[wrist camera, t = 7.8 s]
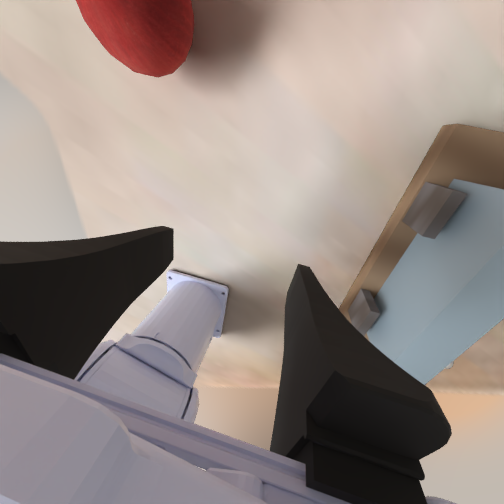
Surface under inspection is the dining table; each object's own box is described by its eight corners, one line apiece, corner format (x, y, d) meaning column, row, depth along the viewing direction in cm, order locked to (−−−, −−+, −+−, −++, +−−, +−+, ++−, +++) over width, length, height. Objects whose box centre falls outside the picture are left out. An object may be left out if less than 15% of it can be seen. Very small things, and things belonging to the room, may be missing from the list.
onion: (135, -31, 13) (-42, -218, 6) (216, -17, 13) (120, -202, 6) (141, 80, 16) (25, 34, 9) (208, 95, 16) (138, 58, 9)
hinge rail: (386, 337, 23) (404, 376, 19) (331, 321, 24) (337, 356, 20) (544, 145, 13) (646, 146, 9) (442, 125, 14) (498, 118, 10)
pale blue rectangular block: (398, 328, 20) (432, 390, 15) (361, 317, 21) (381, 375, 16) (513, 191, 13) (646, 221, 8) (454, 178, 14) (546, 199, 9)
